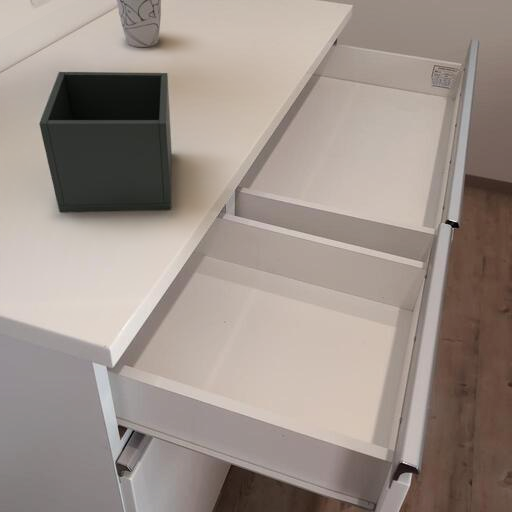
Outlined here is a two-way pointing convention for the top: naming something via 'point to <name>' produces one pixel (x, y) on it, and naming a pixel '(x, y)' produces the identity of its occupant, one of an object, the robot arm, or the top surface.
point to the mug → (140, 21)
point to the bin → (109, 141)
